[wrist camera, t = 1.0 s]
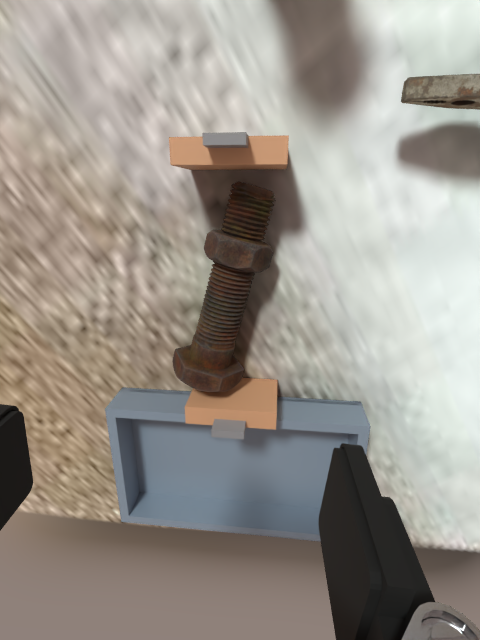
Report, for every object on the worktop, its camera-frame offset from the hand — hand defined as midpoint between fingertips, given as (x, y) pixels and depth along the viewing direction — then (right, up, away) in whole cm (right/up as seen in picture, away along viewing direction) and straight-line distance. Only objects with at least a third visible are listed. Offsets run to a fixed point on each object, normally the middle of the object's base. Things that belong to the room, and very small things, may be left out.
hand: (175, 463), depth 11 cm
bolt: (+1, +7, +19) cm, 20 cm away
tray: (+2, -8, +24) cm, 25 cm away
